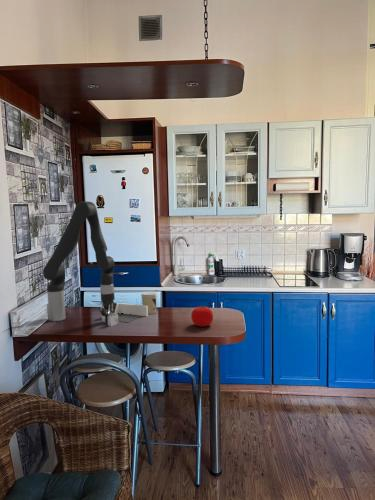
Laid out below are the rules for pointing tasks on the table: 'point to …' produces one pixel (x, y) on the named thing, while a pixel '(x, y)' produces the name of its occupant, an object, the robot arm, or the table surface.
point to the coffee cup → (149, 301)
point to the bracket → (111, 319)
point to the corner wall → (131, 309)
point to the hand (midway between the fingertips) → (108, 322)
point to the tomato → (202, 316)
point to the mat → (127, 318)
